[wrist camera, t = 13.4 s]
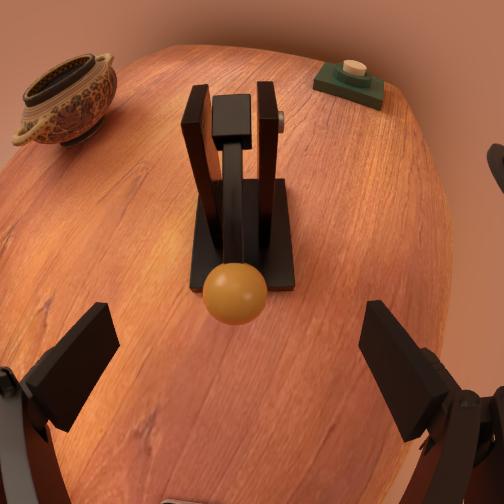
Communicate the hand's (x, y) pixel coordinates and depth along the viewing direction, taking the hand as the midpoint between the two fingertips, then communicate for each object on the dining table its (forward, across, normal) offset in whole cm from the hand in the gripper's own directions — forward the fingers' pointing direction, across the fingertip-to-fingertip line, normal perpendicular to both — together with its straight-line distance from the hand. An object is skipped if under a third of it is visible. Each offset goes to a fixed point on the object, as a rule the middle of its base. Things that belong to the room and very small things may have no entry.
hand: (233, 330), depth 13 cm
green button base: (+37, +19, +23) cm, 47 cm away
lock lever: (+6, 0, +5) cm, 8 cm away
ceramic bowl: (+31, -28, +17) cm, 45 cm away
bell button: (+34, +19, +25) cm, 47 cm away
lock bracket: (+15, 0, +1) cm, 15 cm away
